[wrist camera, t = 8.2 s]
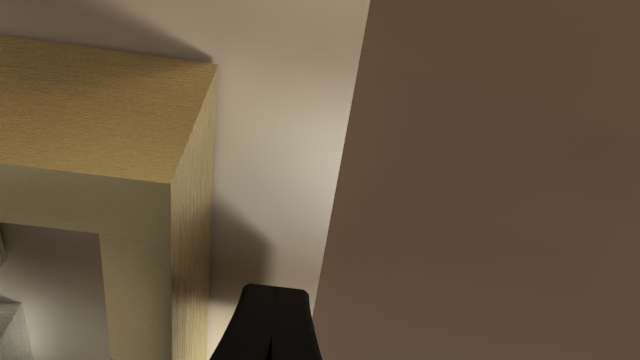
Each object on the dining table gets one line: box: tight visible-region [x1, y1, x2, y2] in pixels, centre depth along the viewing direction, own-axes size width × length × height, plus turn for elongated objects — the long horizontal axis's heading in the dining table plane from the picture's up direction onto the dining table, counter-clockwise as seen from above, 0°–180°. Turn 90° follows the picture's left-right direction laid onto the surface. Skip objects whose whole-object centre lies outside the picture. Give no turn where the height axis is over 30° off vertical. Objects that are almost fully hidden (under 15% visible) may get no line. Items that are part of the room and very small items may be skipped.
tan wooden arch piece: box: [0, 35, 218, 360], centre depth 11 cm, size 10×5×4 cm, turn 172°
